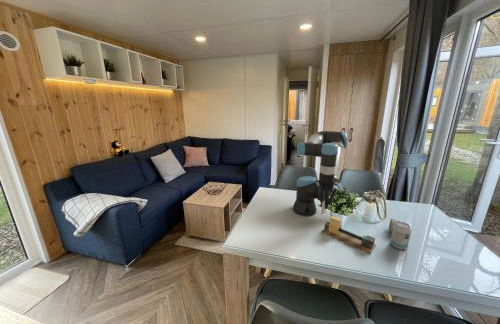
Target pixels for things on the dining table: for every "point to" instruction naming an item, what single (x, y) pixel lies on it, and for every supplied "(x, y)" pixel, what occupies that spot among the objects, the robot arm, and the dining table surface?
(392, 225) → the ceramic mug
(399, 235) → the beverage can
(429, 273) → the dining table surface
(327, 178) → the robot arm
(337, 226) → the sleeve
